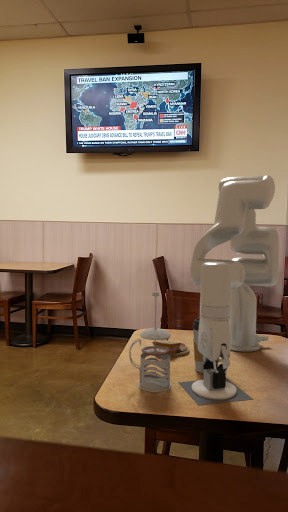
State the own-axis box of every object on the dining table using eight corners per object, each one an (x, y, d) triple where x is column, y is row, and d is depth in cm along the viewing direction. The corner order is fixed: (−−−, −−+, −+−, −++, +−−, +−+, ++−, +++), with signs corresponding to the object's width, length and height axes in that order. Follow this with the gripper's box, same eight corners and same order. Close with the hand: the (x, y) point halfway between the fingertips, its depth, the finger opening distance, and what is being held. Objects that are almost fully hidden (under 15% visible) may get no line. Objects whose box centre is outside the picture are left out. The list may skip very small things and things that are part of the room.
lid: (224, 380, 103) (224, 362, 103) (244, 397, 92) (245, 377, 92) (185, 383, 100) (185, 365, 100) (201, 401, 90) (202, 381, 89)
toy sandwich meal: (196, 351, 130) (197, 338, 130) (171, 361, 121) (171, 346, 120) (168, 344, 139) (168, 331, 139) (142, 352, 129) (142, 338, 129)
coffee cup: (220, 378, 106) (221, 324, 105) (190, 375, 108) (191, 322, 107) (221, 367, 114) (221, 317, 113) (192, 365, 116) (193, 316, 115)
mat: (226, 379, 105) (226, 377, 105) (253, 401, 91) (253, 399, 91) (178, 384, 101) (178, 382, 101) (198, 407, 88) (198, 405, 88)
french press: (175, 394, 95) (176, 294, 93) (128, 394, 95) (128, 293, 93) (172, 379, 104) (173, 288, 103) (130, 379, 105) (130, 288, 103)
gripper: (188, 306, 103) (187, 372, 104) (215, 320, 86) (214, 399, 87) (214, 305, 104) (213, 370, 105) (246, 318, 88) (244, 395, 89)
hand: (213, 382), depth 96 cm, fingers open, 5 cm apart
